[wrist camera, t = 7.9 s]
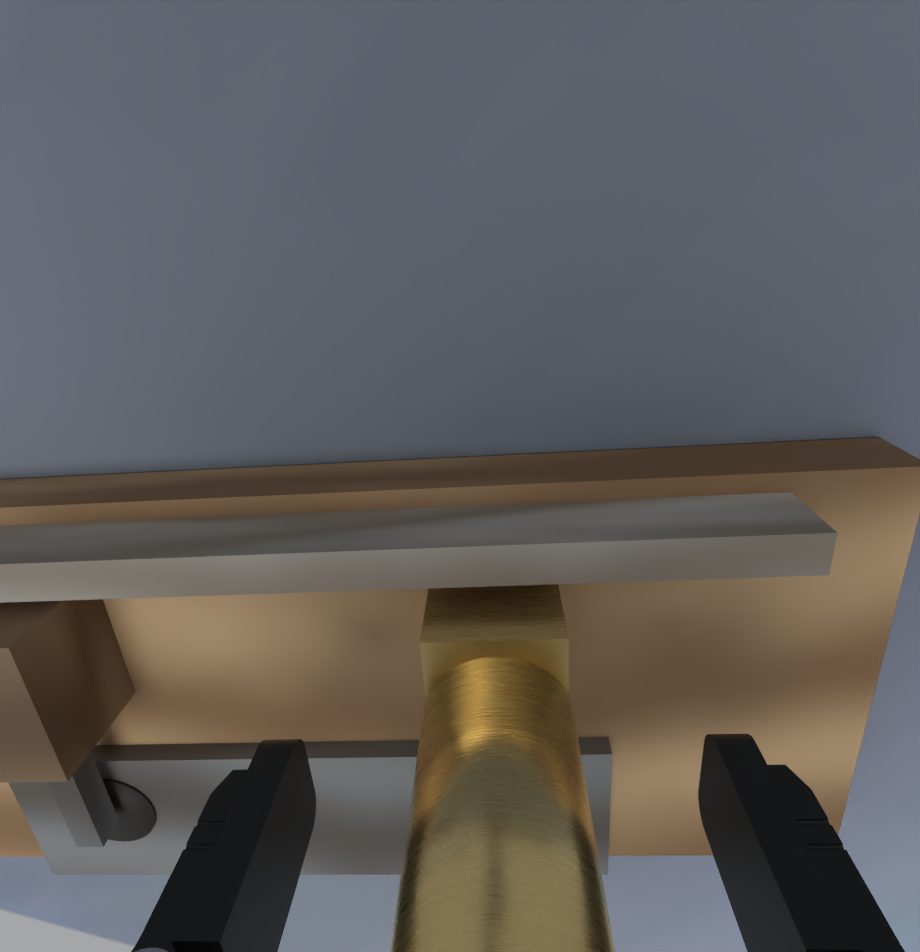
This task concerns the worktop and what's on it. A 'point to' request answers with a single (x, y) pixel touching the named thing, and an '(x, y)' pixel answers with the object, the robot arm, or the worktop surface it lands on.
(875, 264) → the worktop surface
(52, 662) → the brown block with stem
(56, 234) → the worktop surface
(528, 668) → the gold l-shaped piece
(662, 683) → the board
